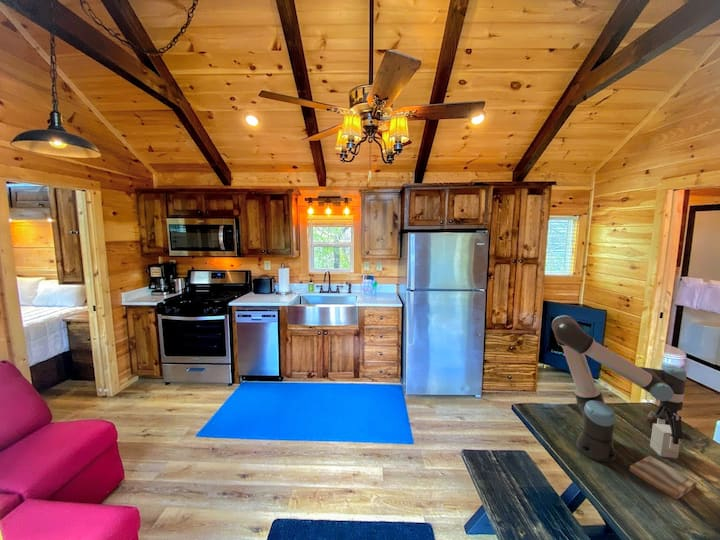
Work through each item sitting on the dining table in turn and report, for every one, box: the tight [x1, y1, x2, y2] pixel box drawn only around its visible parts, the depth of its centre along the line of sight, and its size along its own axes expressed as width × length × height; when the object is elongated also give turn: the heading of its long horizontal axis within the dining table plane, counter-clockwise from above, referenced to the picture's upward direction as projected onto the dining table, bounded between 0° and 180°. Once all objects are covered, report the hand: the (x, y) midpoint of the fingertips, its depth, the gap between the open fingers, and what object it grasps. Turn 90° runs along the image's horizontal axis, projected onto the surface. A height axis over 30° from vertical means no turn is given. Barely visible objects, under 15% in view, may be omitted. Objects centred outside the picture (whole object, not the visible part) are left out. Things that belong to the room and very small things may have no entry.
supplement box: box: [649, 423, 682, 459], centre depth 149 cm, size 7×7×13 cm
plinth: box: [629, 455, 698, 500], centre depth 134 cm, size 16×16×3 cm
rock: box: [644, 408, 670, 428], centre depth 167 cm, size 12×9×10 cm
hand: (666, 439), depth 148 cm, fingers open, 13 cm apart
